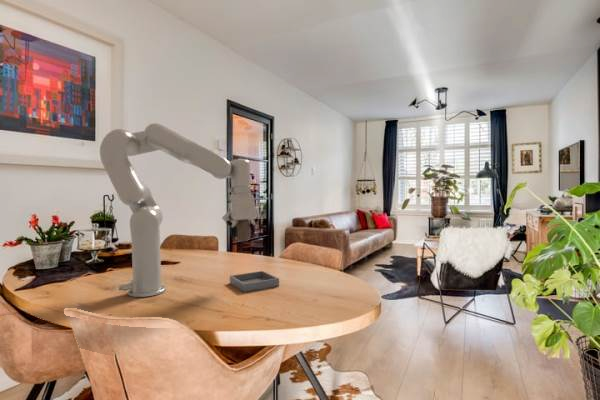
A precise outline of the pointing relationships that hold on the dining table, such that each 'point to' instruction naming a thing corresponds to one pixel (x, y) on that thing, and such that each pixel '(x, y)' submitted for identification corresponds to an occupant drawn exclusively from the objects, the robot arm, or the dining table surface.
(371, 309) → the dining table surface
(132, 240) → the robot arm
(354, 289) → the dining table surface
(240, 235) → the vase
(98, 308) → the dining table surface
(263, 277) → the tray
